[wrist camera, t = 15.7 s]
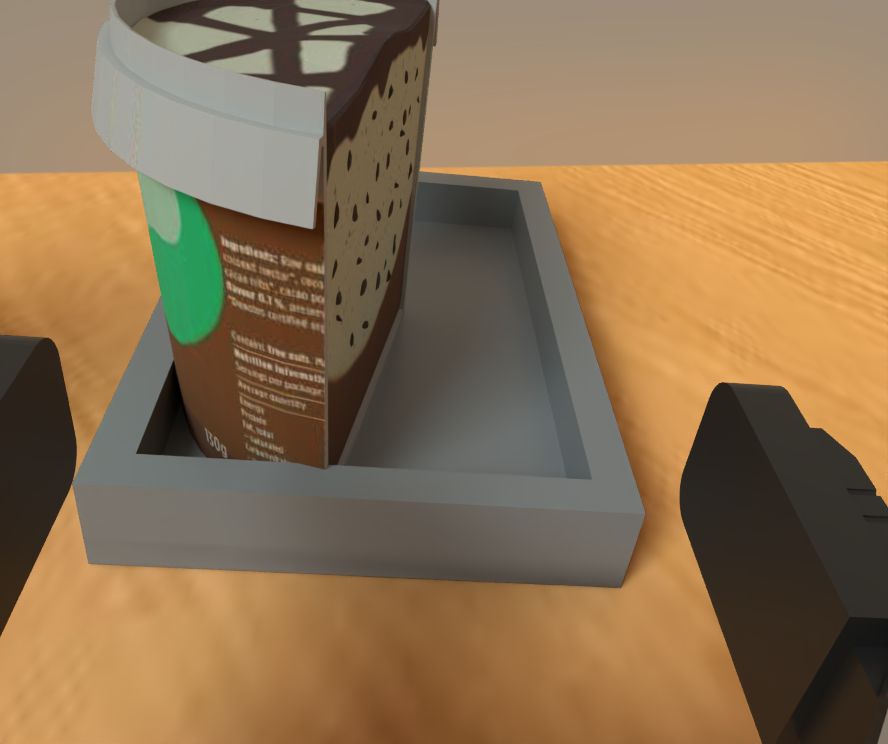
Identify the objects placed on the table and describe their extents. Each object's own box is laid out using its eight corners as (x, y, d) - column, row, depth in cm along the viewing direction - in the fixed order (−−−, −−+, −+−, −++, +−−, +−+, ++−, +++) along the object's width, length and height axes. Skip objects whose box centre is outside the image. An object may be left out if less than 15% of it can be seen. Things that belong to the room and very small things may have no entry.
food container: (234, 259, 29) (220, -69, 23) (412, 290, 28) (444, -36, 22) (35, 512, 18) (-81, 40, 13) (307, 565, 18) (315, 102, 12)
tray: (530, 237, 34) (540, 182, 33) (620, 587, 20) (646, 514, 18) (230, 213, 33) (227, 154, 32) (88, 563, 18) (72, 483, 17)
